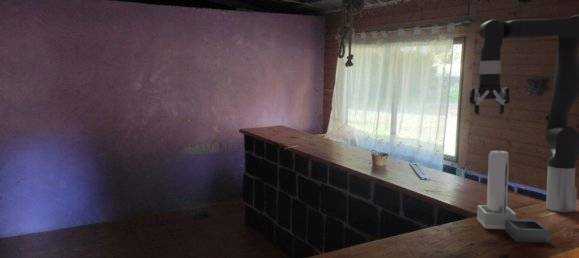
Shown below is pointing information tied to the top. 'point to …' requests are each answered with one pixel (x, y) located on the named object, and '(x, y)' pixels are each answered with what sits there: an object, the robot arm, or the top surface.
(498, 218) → the white open box
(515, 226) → the socket
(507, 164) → the air filter
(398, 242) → the top surface
